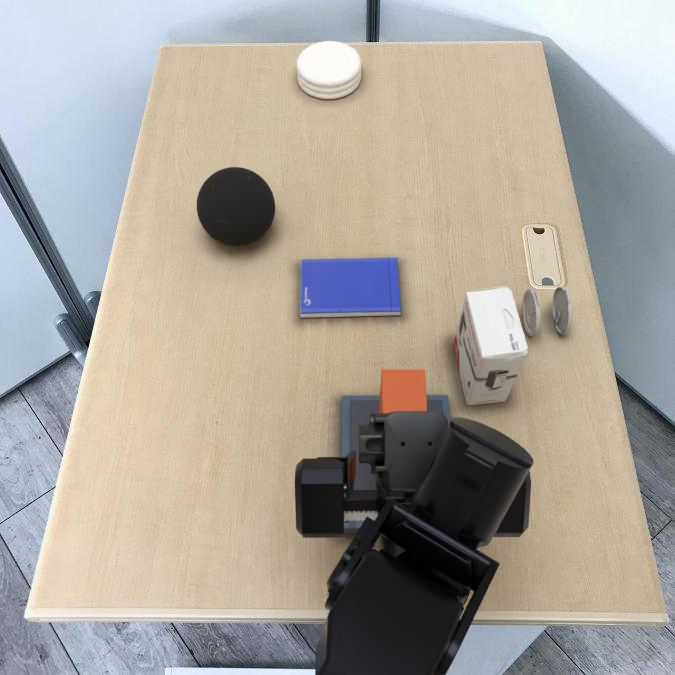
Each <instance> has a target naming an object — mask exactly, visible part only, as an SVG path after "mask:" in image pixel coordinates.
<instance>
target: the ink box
mask: <svg viewBox="0 0 675 675" xmlns="http://www.w3.org/2000/svg"><path fill="white" fill-rule="evenodd" d="M465 292H466V293H465V297H464V300H463V305H462V308H461V311H460V312H461V313H460V317H459V320H458V324H457V328H456V331H455V336H454V340H453V343H452V346H453V351H454V356H455V358H456V360H455V361H456V364H457V369H458V373H459V378H460V382H461V387H462V391H463V395H464V400H465V405H466V406H478V405H485V404H494V403H496V404H497V403H505V402H506V401H507V399H508V397H509V395H510V393H511V390H512V388H513V386H514V384H515V382H516V379H517V377H518V375H519V372H520V370H521V368H522V366H523V364H524V362H525V360H526V358H527V355H528V354H529V350H528V346H529V345H528V343H527V341H526V340H527V339H526V335H525V332H524V330H523V327H522V326H523V325H522V323H521V319H520V318H521V317H520V315H519V312H518V308H517V304H516V301H515V298H514V293H513V290H512V289H511V288H509V285H502V286H492V287H485V288H479V289H472V290H467V291H465Z"/></svg>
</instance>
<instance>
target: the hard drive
mask: <svg viewBox="0 0 675 675" xmlns="http://www.w3.org/2000/svg"><path fill="white" fill-rule="evenodd" d="M399 277H400V276H399V262H398V257H368V258H367V257H365V258H361V257H360V258H358V257H357V258H356V257H355V258H354V257H353V258H313V259H312V258H311V259H300V288H299V289H300V292H299V294H300V297H299V316H300V318H304V319H305V318H339V317H378V316H379V317H381V316H401V314H402V305H401V304H402V302H401V292H400V291H401V290H400V279H399Z"/></svg>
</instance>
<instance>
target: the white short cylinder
mask: <svg viewBox="0 0 675 675" xmlns="http://www.w3.org/2000/svg"><path fill="white" fill-rule="evenodd" d="M295 67H296V75H297V76H296V77H297V82H298V85H299V87H300V88H301V90H302V91H303V92H304V93H306V94H308V95H309V96H311V97H314V98H317V99H322V100H334V99H340V98H344V97H346V96H349V95H350V94H352V93H353V92H354V91H355V90H356V89H357V88H358V86H359V85H360V83H361V81H362V80H361V79H362V59H361V56H360V54H359V52H358V51H357V49H355V48H354V47H352V46H350V45H349V44H347V43H344V42H341V41H337V40H325V41H324V40H323V41H319V42H315V43H312V44H311V45H309V46H307V47H306V48H304V49H303V50H302V51H301V52H300V53H299V55H298V56H297V59H296V66H295Z"/></svg>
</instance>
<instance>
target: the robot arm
mask: <svg viewBox="0 0 675 675" xmlns="http://www.w3.org/2000/svg"><path fill="white" fill-rule="evenodd" d="M358 430H359V462H360V463H367V464H370V466H371V474H376V490H353V488H354V482H355V476H356V451H351V452H350V453H349V454H347V455H346V456H345V457H341V456H319V457H316V458H315V457H313V458H309V457H308V458H307V457H306V458H302V459H301V460H299V462H298V463H297V464H296V466H295V472H294V501H295V502H294V505H295V506H294V507H295V509H294V510H295V529H296V531H297V532H298V534H300V536H301V537H302V538H304V539H308V538H309V539H329V538H330V539H331V538H332V539H333V538H336V539H337V538H338V539H344V538H345V533H344V523H348V521H364V522H363V523H362V525H361V527H360V528H359V530H358V531H357V533H355V534H354V536H353V538H352V540H351V541H350V542H349V545H348V546H347V547H346V548H345V551H344V552H343V554H342V556H341V557H340V559H339V560H338V562H337V564H336V565H335V567H334V569H333V570H332V572H331V573H330V575H329V577H328V579H327V581H326V587H327V599H326V600H325V604H324V608H325V609H327V610H328V613H327V615H326V619H325V622H324V625H323V628H322V630H321V633H320V635H319V639H318V642H317V645H316V648H315V657H314V658H315V662H314V663H315V664H314V666H315V667H314V675H447V673H448V671H449V669H450V668H451V666H452V664H453V663H454V660H455V658H456V656H457V655H458V653H459V651H460V648H461V646H462V644H463V642H464V640H465V638H466V635H467V633H468V631H469V629H470V627H471V625H472V623H473V621H474V619H475V617H476V615H477V613H478V611H479V608H480V606H481V604H482V602H483V600H484V598H485V596H486V594H487V592H488V590H489V588H490V587H491V586H490V585H491V583H492V582H493V580H494V577H495V575H496V573H497V571H498V569H499V567H500V565H501V562H498V561H497V560H495V559H494V558H492V557H490V556H488V555H487V554H486V553H484V552H481V550H479V549H480V548H483V547H486V546H488V545H490V543H491V542H492V540H493V538H520V537H522V535H523V534H524V533H525V532H526V531H527V530H528V528H529V525H530V509H531V494H532V478H531V477H532V476H531V471H530V470H531V468H532V467H533V465H534V458H533V456H532V455H531V454H530V453H529V452H528V451H527V449H526V448H524V447H523V446H522V445H521V444H519V443H518V442H517V441H515V440H514V439H512V438H511V437H509V436H508V435H506V434H505V433H503V432H502V431H501V432H500V431H499V430H497V429H495V428H493V427H491V426H489V425H486V424H485V423H482V422H479V421H478V420H474V419H472V418H471V419H470V418H466V417H457V416H456V417H452V418H451V419H450V423H449V425H448V420H447V418H446V417H445V415H443V414H442V413H440V412H436V411H393V412H389V413H370V422H369V423H368V424H360V425H359V428H358ZM374 520H375V521H374ZM378 541H379V550H378V549H376V548H374V547H375V545H376V543H377V542H378ZM471 591H472V595H471V597H470V599H469V596H470V594H471ZM468 599H469V601H468ZM466 602H468V603H467V604H466ZM465 604H466V606H465V608H464V605H465Z"/></svg>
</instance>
